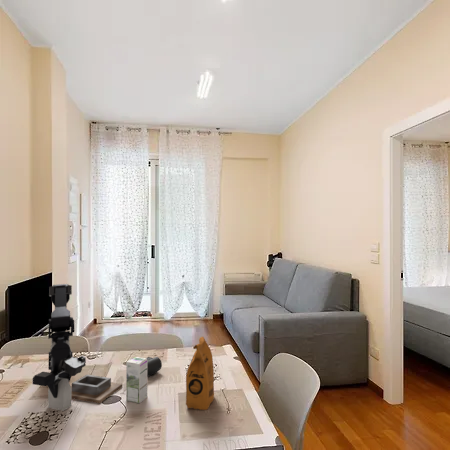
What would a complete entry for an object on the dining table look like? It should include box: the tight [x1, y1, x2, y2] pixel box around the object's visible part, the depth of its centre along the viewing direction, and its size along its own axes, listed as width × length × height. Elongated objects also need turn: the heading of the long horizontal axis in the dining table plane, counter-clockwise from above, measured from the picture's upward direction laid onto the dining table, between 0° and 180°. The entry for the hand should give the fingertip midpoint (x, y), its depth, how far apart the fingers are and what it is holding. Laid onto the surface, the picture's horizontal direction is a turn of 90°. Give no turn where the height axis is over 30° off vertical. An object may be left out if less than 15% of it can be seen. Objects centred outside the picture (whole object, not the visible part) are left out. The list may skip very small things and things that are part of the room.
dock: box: [70, 374, 123, 404], centre depth 133 cm, size 18×14×4 cm
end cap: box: [146, 356, 163, 378], centre depth 148 cm, size 10×7×7 cm
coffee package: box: [185, 336, 215, 411], centre depth 125 cm, size 10×12×22 cm
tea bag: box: [47, 377, 72, 412], centre depth 121 cm, size 4×7×10 cm, turn 71°
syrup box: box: [125, 356, 148, 404], centre depth 127 cm, size 6×6×14 cm
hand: (59, 395), depth 121 cm, fingers closed on tea bag, 4 cm apart
